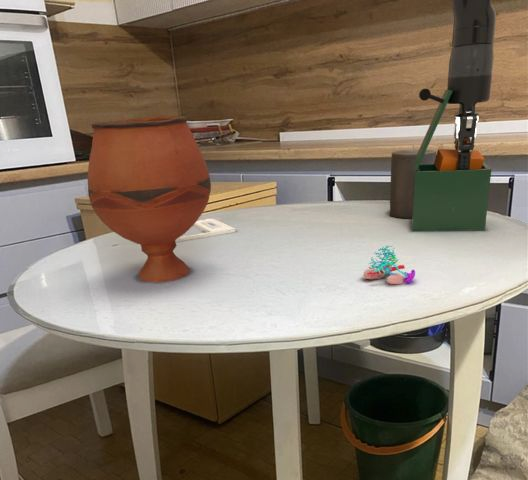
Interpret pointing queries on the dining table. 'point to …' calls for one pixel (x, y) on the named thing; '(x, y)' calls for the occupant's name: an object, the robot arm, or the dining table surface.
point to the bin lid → (426, 95)
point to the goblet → (149, 187)
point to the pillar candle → (405, 180)
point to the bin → (450, 199)
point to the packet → (456, 159)
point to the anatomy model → (388, 269)
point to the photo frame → (208, 229)
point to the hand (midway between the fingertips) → (461, 171)
